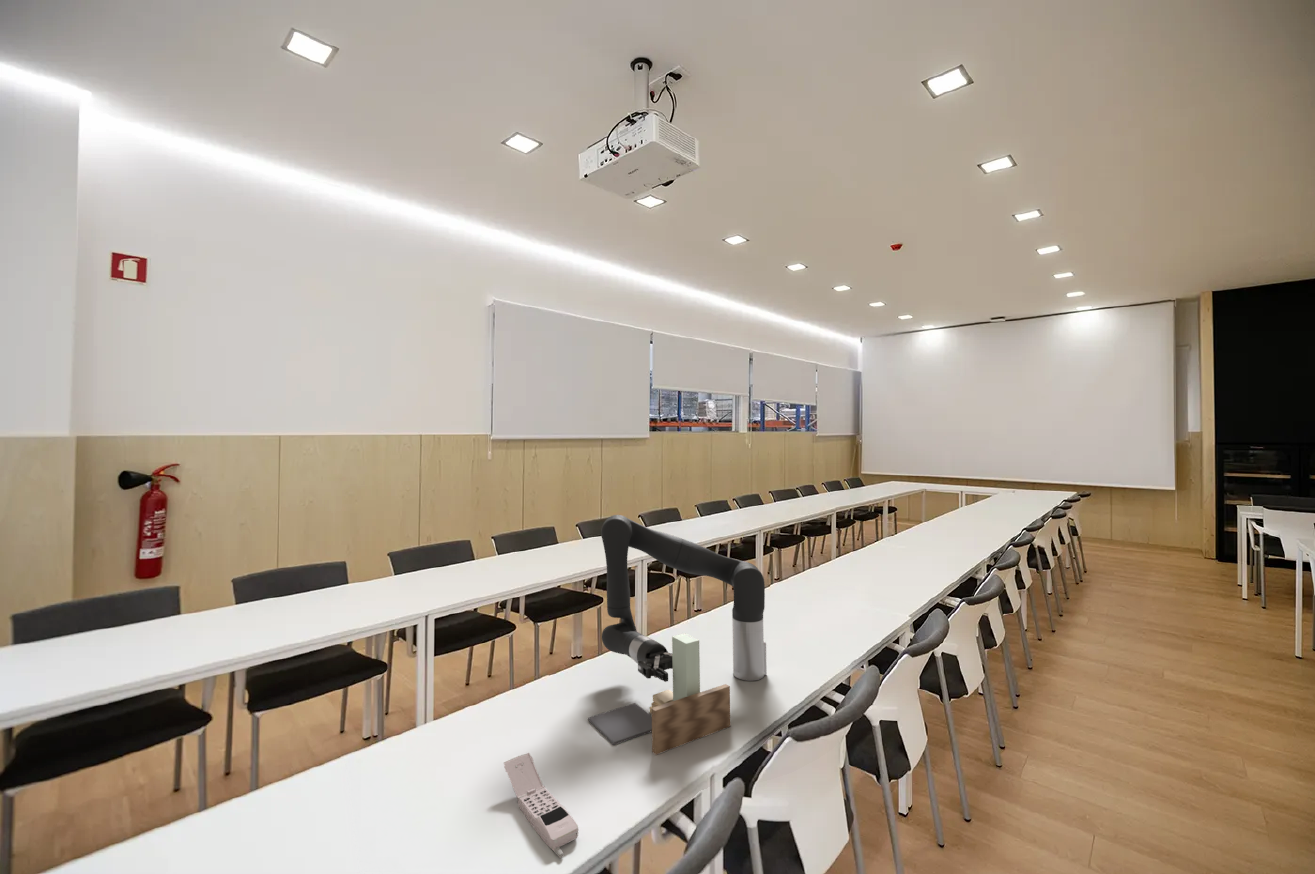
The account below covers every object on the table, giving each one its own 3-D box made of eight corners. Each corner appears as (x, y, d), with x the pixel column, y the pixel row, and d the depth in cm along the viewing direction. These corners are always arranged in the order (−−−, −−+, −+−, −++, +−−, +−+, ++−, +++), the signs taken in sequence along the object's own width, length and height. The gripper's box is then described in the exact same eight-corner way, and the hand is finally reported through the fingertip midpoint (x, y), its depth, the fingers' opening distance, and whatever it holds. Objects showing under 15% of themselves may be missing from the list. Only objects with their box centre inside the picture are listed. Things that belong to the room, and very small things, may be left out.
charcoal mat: (635, 704, 149) (634, 702, 149) (663, 727, 138) (663, 724, 138) (587, 719, 142) (587, 717, 142) (613, 744, 130) (613, 742, 130)
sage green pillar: (686, 719, 141) (685, 633, 141) (700, 729, 136) (699, 640, 136) (673, 723, 139) (672, 636, 139) (687, 734, 134) (686, 643, 134)
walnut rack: (710, 713, 144) (709, 674, 144) (730, 726, 138) (729, 686, 138) (637, 738, 132) (637, 697, 132) (655, 754, 126) (655, 710, 126)
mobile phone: (528, 750, 118) (585, 813, 98) (529, 778, 118) (587, 846, 98) (501, 761, 114) (554, 828, 94) (502, 790, 114) (555, 863, 94)
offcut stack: (666, 704, 150) (666, 687, 150) (684, 712, 145) (684, 695, 145) (648, 713, 145) (648, 696, 145) (666, 722, 141) (666, 704, 141)
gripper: (625, 644, 149) (657, 665, 136) (669, 634, 157) (703, 652, 143) (625, 672, 149) (657, 695, 136) (669, 660, 157) (704, 681, 143)
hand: (681, 673), depth 139 cm, fingers open, 8 cm apart
